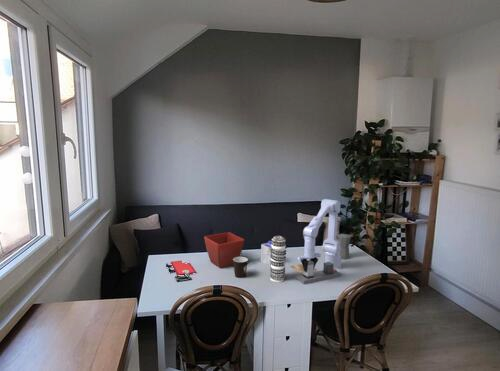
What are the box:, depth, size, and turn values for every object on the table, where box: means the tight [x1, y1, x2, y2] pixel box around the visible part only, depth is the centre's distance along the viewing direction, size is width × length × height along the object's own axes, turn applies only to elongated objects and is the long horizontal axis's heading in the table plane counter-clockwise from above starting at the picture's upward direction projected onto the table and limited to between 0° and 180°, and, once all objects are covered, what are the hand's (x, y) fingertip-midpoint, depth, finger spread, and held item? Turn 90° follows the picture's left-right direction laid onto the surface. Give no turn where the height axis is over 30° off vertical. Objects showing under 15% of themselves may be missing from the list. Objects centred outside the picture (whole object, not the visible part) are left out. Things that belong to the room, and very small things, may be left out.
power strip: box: [295, 269, 342, 285], centre depth 197 cm, size 26×8×3 cm, turn 116°
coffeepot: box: [336, 230, 358, 260], centre depth 231 cm, size 15×9×18 cm, turn 94°
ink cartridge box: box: [260, 240, 272, 267], centre depth 218 cm, size 10×6×14 cm, turn 38°
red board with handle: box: [165, 260, 198, 282], centre depth 206 cm, size 30×3×15 cm
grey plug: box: [302, 259, 315, 278], centre depth 194 cm, size 4×4×8 cm
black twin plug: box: [322, 261, 334, 275], centre depth 200 cm, size 4×4×8 cm
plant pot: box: [204, 232, 245, 269], centre depth 217 cm, size 19×19×17 cm
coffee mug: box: [233, 256, 250, 279], centre depth 200 cm, size 12×9×10 cm
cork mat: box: [290, 263, 317, 274], centre depth 211 cm, size 12×12×1 cm
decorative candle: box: [269, 235, 287, 283], centre depth 194 cm, size 9×9×25 cm
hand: (308, 270), depth 194 cm, fingers closed on grey plug, 4 cm apart
